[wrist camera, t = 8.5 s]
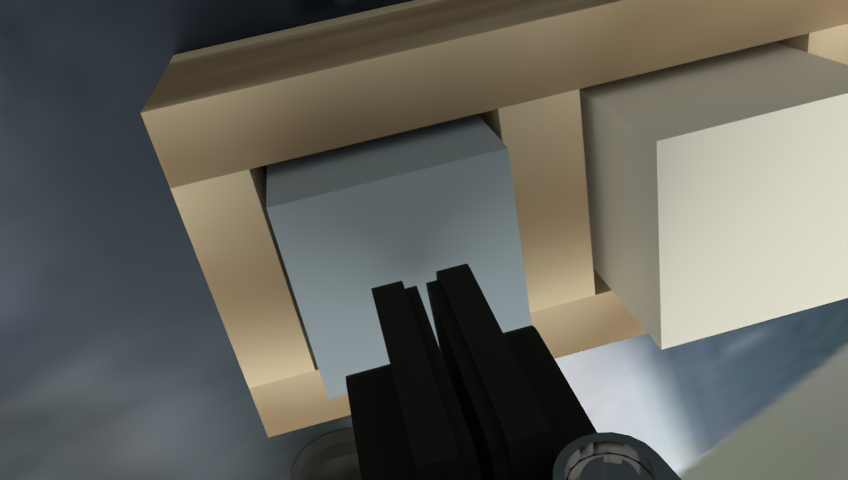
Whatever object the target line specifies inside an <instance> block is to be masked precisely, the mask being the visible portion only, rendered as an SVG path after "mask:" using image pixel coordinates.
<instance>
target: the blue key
mask: <svg viewBox="0 0 848 480" xmlns="http://www.w3.org/2000/svg"><path fill="white" fill-rule="evenodd" d="M266 209H267V212H268V216H269V219H270V222H271V225H272V228H273V231H274V234H275V237H276V240H277V243H278V246H279V249H280V252H281V255H282V258H283V262H284V265H285V268H286V271H287V274H288V277H289V280H290V283H291V286H292V289H293V292H294V295H295V298H296V301H297V304H298V308H299V311H300V314H301V317H302V320H303V323H304V326H305V329H306V332H307V335H308V338H309V341H310V344H311V347H312V350H313V354H314V357H315V360H316V363H317V366H318V369H319V372H320V375H321V378H322V381H323V384H324V387H325V390H326V393H327V397H328V399H330V398H333V397H337V396H341V395H344V394H348V392H347V386H346V376H348V375H351V374H355V373H359V372H362V371H366V370H370V369H373V368H377V367H381V366H384V365H388V364H390V362H389V358H388V354H387V350H386V346H385V342H384V338H383V334H382V330H381V326H380V322H379V318H378V314H377V310H376V306H375V302H374V298H373V294H372V290H371V288H375V287H379V286H383V285H386V284H390V283H394V282H398V281H402V282H403V284H404V287H405V288H408V287H412V286H417V288H418V290H419V293H420V296H421V299H422V302H423V304H424V307H425V310H426V313H427V315H428V318H429V321H430V324H431V326H432V329H433V332H434V335H435V338H436V340H437V343H438V339H437V334H436V329H435V325H434V320H433V315H432V311H431V306H430V301H429V297H428V292H427V287H426V283H427V282H431V281H435V280H437V278H436V271H439V270H443V269H447V268H451V267H455V266H458V265H462V264H466V263H467V264H468V265H469V267H470V269H471V271H472V273H473V275H474V277H475V279H476V281H477V283H478V284H479V286H480V288H481V290H482V292H483V294H484V296H485V298H486V300H487V302H488V304H489V306H490V308H491V310H492V312H493V314H494V316H495V318H496V320H497V322H498V324H499V326H500V328H501V330H502V332H503V333H505V332H508V331H512V330H516V329H519V328H523V327H527V326H530V325H532V324H531V316H530V309H529V301H528V294H527V286H526V279H525V271H524V264H523V256H522V249H521V241H520V234H519V226H518V219H517V211H516V204H515V196H514V189H513V181H512V174H511V166H510V159H509V151H508V148H507V146H506V145H505V144H504V143H503V142H502V141H501V140H500V139H499V137H498V136H497V135H496V134H495V133H494V132H493V131H492V130H491V129H490V127H489V126H488V125H487V124H486V123H485V122H484V121H483V120H482V118H481V117H480V116H479V115H478V114H475V115H470V116H466V117H462V118H458V119H454V120H450V121H446V122H442V123H438V124H433V125H429V126H425V127H421V128H417V129H413V130H409V131H405V132H401V133H396V134H392V135H388V136H384V137H380V138H376V139H372V140H368V141H363V142H359V143H355V144H351V145H347V146H343V147H339V148H335V149H331V150H326V151H322V152H318V153H314V154H310V155H306V156H302V157H298V158H294V159H289V160H285V161H281V162H277V163H273V164H269V165H267V190H266ZM438 346H439V344H438ZM439 349H440V348H439Z"/></svg>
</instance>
